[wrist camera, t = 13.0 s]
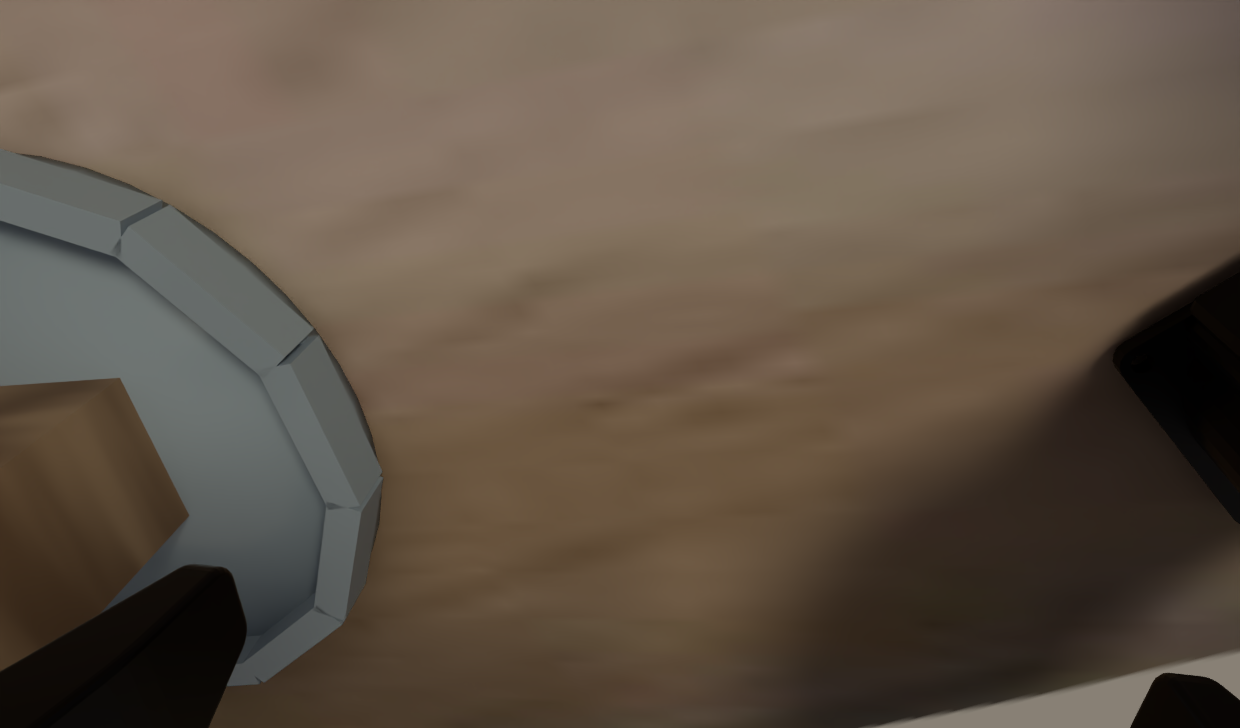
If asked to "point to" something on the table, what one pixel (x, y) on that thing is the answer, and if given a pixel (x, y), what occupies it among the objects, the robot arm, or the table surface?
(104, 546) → the walnut block
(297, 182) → the table surface
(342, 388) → the ceramic dish
